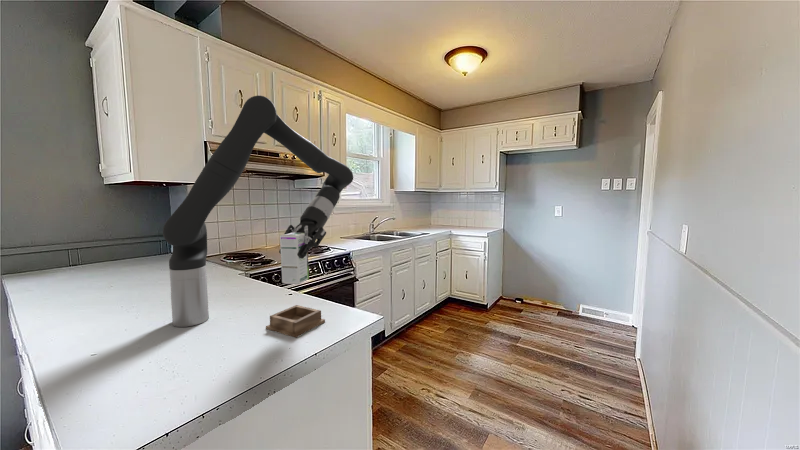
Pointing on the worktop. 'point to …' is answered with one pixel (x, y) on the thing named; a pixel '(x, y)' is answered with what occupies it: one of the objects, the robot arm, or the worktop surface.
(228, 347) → the worktop surface
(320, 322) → the walnut socket
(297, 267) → the syrup box
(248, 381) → the worktop surface
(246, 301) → the worktop surface
